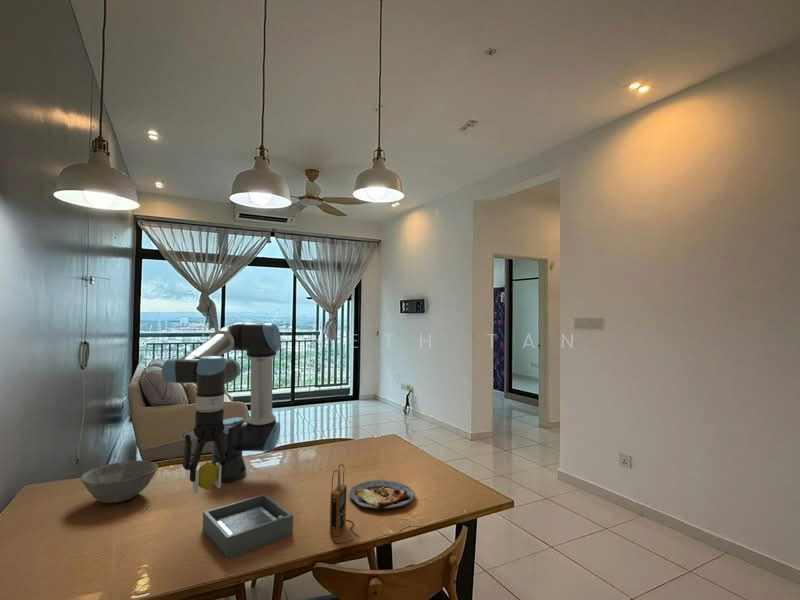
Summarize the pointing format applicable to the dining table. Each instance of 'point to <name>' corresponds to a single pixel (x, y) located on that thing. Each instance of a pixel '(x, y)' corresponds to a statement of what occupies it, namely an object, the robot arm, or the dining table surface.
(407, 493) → the food plate
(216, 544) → the gray open box
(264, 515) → the gray picture frame
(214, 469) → the lemon
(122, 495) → the ceramic bowl
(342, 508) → the multimeter
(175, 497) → the dining table surface
